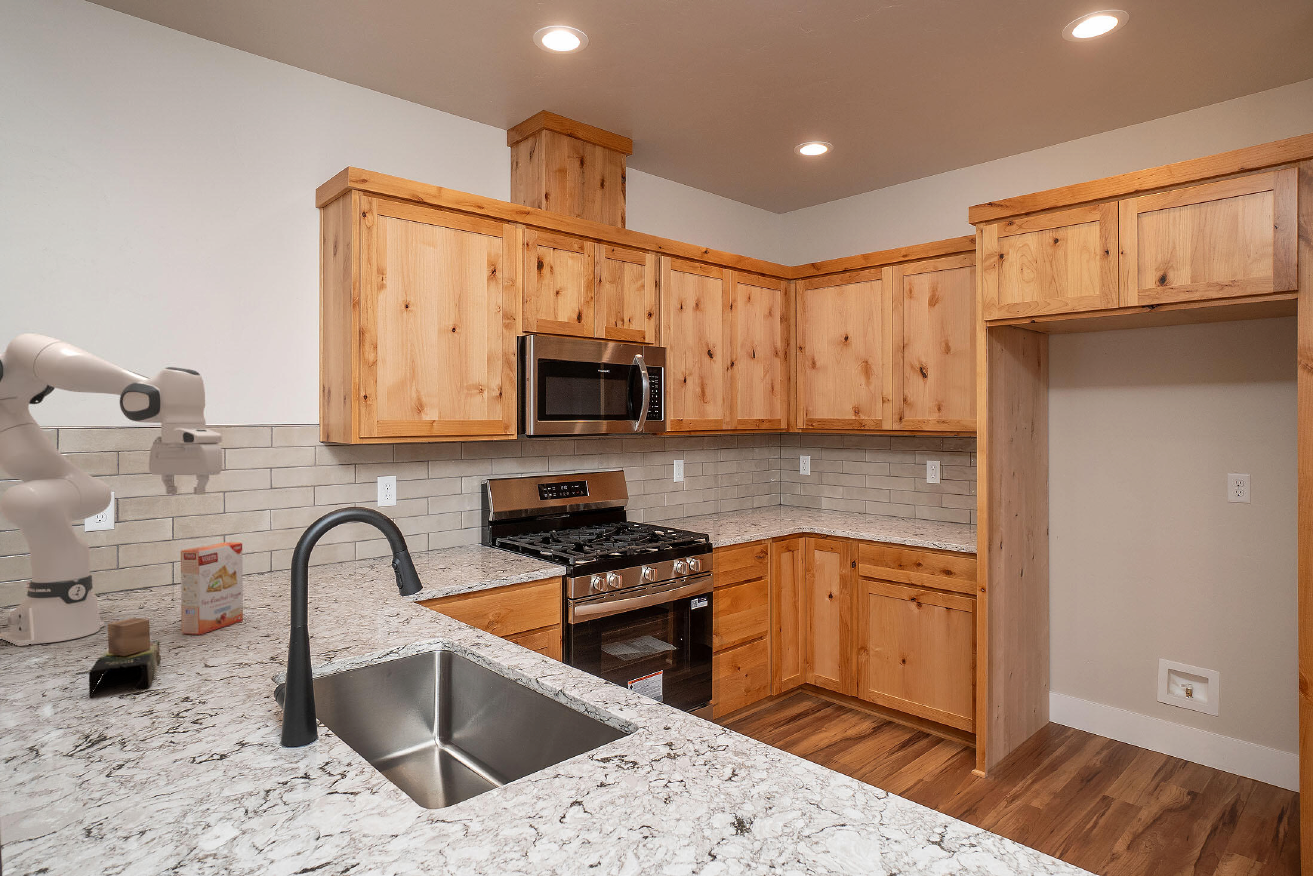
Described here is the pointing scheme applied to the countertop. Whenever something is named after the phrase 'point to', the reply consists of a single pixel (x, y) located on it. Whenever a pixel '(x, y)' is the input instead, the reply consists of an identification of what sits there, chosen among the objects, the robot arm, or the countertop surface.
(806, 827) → the countertop surface
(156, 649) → the black open-ended box
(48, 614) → the robot arm
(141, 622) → the walnut block
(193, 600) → the cracker box
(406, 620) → the countertop surface
